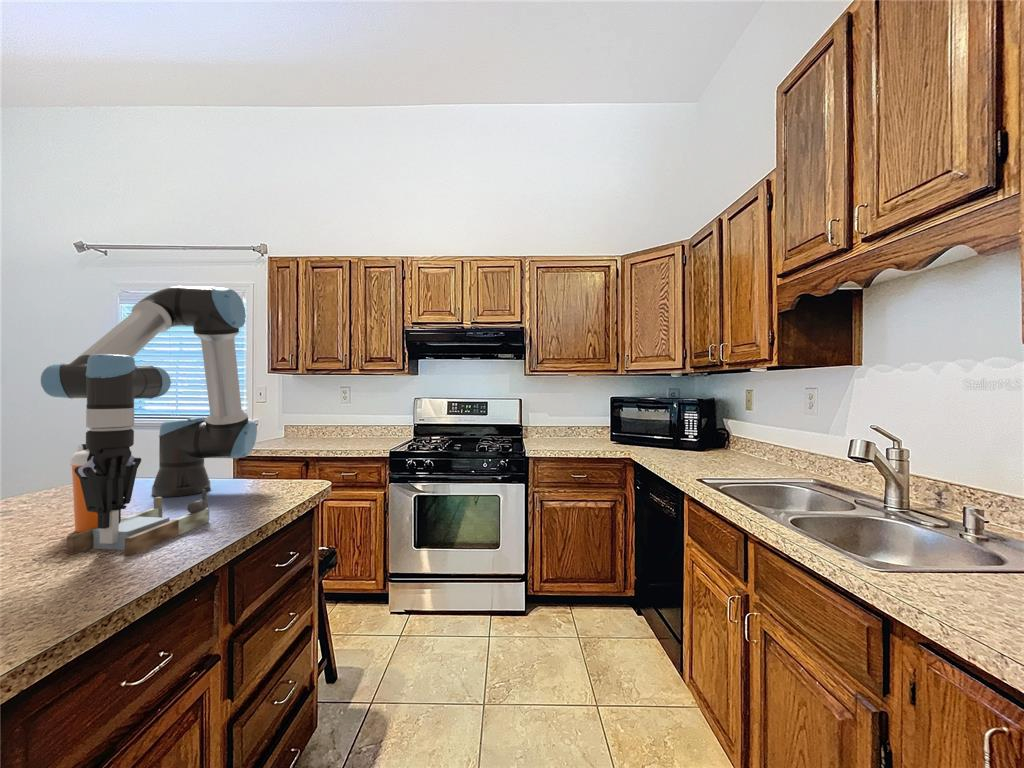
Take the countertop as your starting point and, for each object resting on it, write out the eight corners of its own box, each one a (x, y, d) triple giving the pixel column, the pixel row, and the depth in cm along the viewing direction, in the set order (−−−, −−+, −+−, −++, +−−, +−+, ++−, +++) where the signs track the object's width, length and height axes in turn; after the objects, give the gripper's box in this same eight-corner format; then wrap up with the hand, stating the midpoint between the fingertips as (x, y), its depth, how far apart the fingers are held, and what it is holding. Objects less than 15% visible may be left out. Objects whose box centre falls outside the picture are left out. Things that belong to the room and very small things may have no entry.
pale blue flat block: (136, 533, 106) (137, 515, 106) (169, 535, 106) (169, 517, 106) (92, 549, 96) (92, 529, 96) (128, 551, 95) (128, 531, 95)
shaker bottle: (89, 535, 104) (90, 447, 104) (59, 532, 106) (60, 445, 106) (129, 523, 113) (130, 442, 113) (100, 520, 115) (101, 441, 115)
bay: (159, 519, 116) (159, 484, 116) (213, 521, 116) (213, 485, 116) (66, 553, 93) (67, 509, 93) (133, 555, 92) (134, 511, 92)
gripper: (121, 425, 102) (119, 531, 102) (61, 431, 89) (59, 553, 89) (153, 426, 101) (152, 532, 101) (98, 432, 88) (96, 554, 88)
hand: (109, 542), depth 95 cm, fingers closed
